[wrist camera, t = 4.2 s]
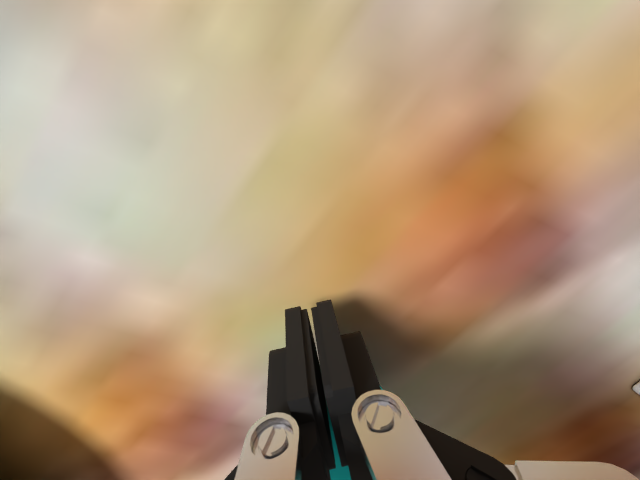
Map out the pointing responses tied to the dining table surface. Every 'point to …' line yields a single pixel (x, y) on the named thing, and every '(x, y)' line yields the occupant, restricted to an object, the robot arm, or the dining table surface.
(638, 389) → the medicine box
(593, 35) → the dining table surface
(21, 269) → the dining table surface
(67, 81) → the dining table surface
